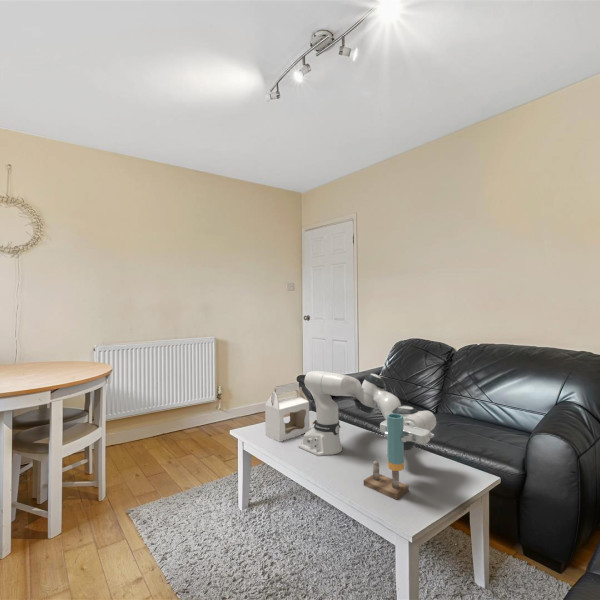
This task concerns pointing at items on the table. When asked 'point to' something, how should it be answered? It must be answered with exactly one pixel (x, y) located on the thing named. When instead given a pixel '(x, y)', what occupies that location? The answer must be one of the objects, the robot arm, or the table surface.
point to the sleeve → (395, 442)
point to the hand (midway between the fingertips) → (394, 437)
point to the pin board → (386, 483)
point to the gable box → (278, 409)
